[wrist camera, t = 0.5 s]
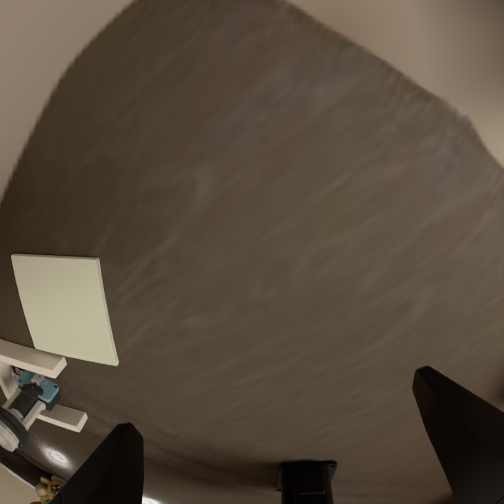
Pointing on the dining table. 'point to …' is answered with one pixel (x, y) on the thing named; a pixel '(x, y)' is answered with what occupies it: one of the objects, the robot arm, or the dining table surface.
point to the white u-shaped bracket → (44, 363)
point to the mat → (65, 306)
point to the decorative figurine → (48, 489)
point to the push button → (25, 408)
